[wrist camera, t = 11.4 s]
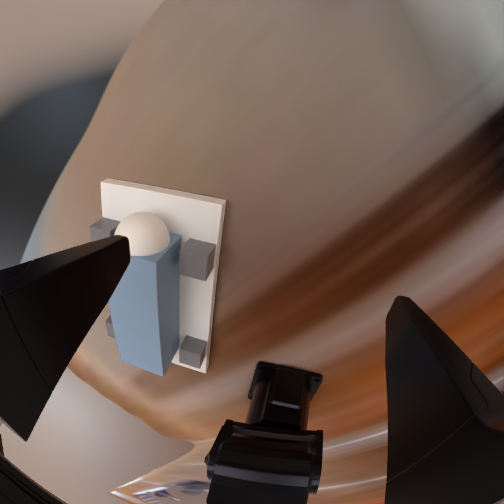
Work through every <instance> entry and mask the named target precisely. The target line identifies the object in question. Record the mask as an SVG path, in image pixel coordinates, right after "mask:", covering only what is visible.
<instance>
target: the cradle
mask: <svg viewBox="0 0 504 504" xmlns="http://www.w3.org/2000/svg"><path fill="white" fill-rule="evenodd" d="M101 200H102V217H103V218H102V219H100V220H99V221H97V222H96V223H94V224H93V225H91V226H90V230H91V239H92V242H93V241H96V240H100V239H103V238H107V237H110V236H114V234H115V231H116V228H117V226H118V225H119V223H120V222H121V221H122V220H123V219H124V218H125V217H126V216H128V215H130V214H132V213H135V212H149V213H152V214H154V215H156V216H158V217H159V218H160V219H161V220H162V221H163V222H164V223H165V225H166V227H167V229H168V232H170V233H174V234H178V235H182V236H181V249H180V255H179V274H180V299H179V343H180V347H179V348H178V350H177V352H176V354H175V356H174V358H173V360H172V363H175V364H178V365H181V366H184V367H187V368H190V369H193V370H196V371H199V372H203V373H206V371H207V369H208V366H209V355H210V344H211V333H212V322H213V312H214V302H215V293H216V283H217V274H218V265H219V256H220V248H221V239H222V231H223V223H224V214H225V207H226V200H223V199H218V198H213V197H208V196H203V195H198V194H193V193H188V192H183V191H178V190H172V189H167V188H162V187H156V186H151V185H145V184H139V183H133V182H128V181H122V180H115V179H109V178H108V179H106V180H104V181H102V182H101ZM105 322H106V327H107V331H108V335H109V336H111V337H113V338H115V334H114V329H113V324H112V319H111V315H110V316H109V318H108V319H107V320H106V321H105ZM115 339H116V338H115Z"/></svg>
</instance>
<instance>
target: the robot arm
mask: <svg viewBox="0 0 504 504" xmlns="http://www.w3.org/2000/svg"><path fill="white" fill-rule="evenodd" d="M130 259H131V256H130V246H129V239H128V238H127V237H126V236H122V235H114V236H110V237H107V238H103V239H100V240H96V241H93V242H89V243H86V244H83V245H79V246H76V247H73V248H69V249H66V250H63V251H59V252H56V253H53V254H50V255H47V256H44V257H40V258H37V259H34V260H33V261H32V260H31V261H28V262H25V263H22V264H19V265H16V266H13V267H9V268H6V269H3V270H0V426H1V424H2V423H3V424H5V425H6V426H7V427H8V428H9V429H10V430H12V431H13V432H14V433H16V434H17V435H18V436H19V437H20V438H22V439H23V440H24V441H25V442H26V441H27V440H28V438H29V436H30V434H31V432H32V430H33V428H34V426H35V424H36V422H37V420H38V418H39V416H40V414H41V412H42V411H43V408H44V407H45V405H46V403H47V401H48V399H49V397H50V395H51V394H52V391H53V390H54V388H55V386H56V385H57V383H58V381H59V379H60V378H61V376H62V374H63V372H64V370H65V369H66V367H67V366H68V364H69V362H70V360H71V359H72V357H73V355H74V354H75V352H76V351H77V349H78V347H79V346H80V344H81V342H82V341H83V339H84V338H85V336H86V335H87V333H88V331H89V330H90V328H91V327H92V325H93V324H94V322H95V321H96V319H97V317H98V316H99V314H100V313H101V311H102V310H103V308H104V307H105V305H106V304H107V303H108V301H109V299H110V298H111V296H112V294H113V293H114V291H115V289H116V287H117V285H118V284H119V282H120V280H121V278H122V276H123V275H124V273H125V271H126V269H127V267H128V266H129V264H130ZM385 367H386V383H387V405H388V461H387V483H386V494H385V504H504V395H503V394H502V393H501V392H500V391H499V390H498V389H497V388H496V386H495V385H494V384H493V383H492V382H491V381H490V380H489V379H488V378H487V377H486V376H485V375H484V374H483V373H482V372H481V371H480V370H479V369H478V367H477V366H476V365H475V364H474V363H472V361H471V360H470V359H469V358H468V357H467V355H466V354H465V353H464V352H463V351H462V350H461V349H460V348H459V347H458V346H457V345H456V344H455V343H454V342H453V341H452V340H451V339H450V338H449V337H448V336H447V334H446V333H445V332H444V331H443V330H442V329H441V328H440V327H439V326H438V325H437V324H436V323H435V322H434V321H433V320H432V319H431V318H430V317H429V316H428V315H427V314H426V313H425V312H424V311H423V310H422V309H421V308H420V307H418V306H417V305H416V304H415V303H414V302H413V301H412V300H411V299H410V298H409V297H405V296H397V297H396V298H395V300H394V302H393V304H392V306H391V308H390V310H389V312H388V315H387V318H386V347H385ZM321 382H322V376H321V375H319V374H315V373H310V372H305V371H300V370H295V369H291V368H286V367H282V366H277V365H273V364H269V363H264V362H259V363H257V366H256V370H255V373H254V377H253V380H252V384H251V387H250V391H249V394H248V398H249V399H251V403H250V407H249V411H248V415H247V418H246V422H245V423H241V422H235V421H233V420H229V419H227V420H226V422H225V424H224V426H222V428H221V430H220V432H219V434H218V436H217V438H216V440H215V442H214V444H213V446H212V448H211V450H210V452H209V453H208V454H207V456H206V457H205V463H206V465H207V477H208V479H209V480H211V484H210V489H209V494H208V497H207V500H206V501H207V504H307V499H308V494H314V495H315V494H316V492H317V490H318V486H319V481H320V476H321V469H322V452H323V430H317V431H310V430H307V423H308V414H309V405H310V401H311V399H312V398H313V396H314V394H315V393H316V391H317V389H318V387H319V386H320V384H321ZM0 504H67V503H65V502H64V501H62V500H61V499H59V498H58V497H56V496H55V495H53V494H52V493H50V492H49V491H47V490H46V489H44V488H43V487H42V486H40V485H39V484H37V483H36V482H35V481H34V480H32V479H31V478H30V477H28V476H27V475H26V474H25V473H23V472H22V471H21V470H20V469H18V468H17V467H16V466H15V465H14V464H12V463H11V462H10V461H9V460H8V459H7V458H5V457H4V452H3V446H2V439H1V434H0Z"/></svg>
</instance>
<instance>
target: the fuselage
mask: <svg viewBox="0 0 504 504" xmlns="http://www.w3.org/2000/svg"><path fill="white" fill-rule="evenodd" d="M114 235H122V236H126V237H127V238H128V239H129V246H130V256H131V259H130V264H129V266H128V267H127V269H126V271H125V273H124V275H123V276H122V278H121V280H120V282H119V284H118V285H117V287H116V289H115V291H114V293H113V294H112V296H111V298H110V299H109V301H108V303H109V309H110V314H111V319H112V324H113V329H114V334H115V338H116V343H117V347H118V351H119V356H120V360H122V361H124V362H126V363H129V364H131V365H134V366H136V367H139V368H141V369H144V370H146V371H149V372H151V373H154V374H157V375H159V376H162V377H164V375H165V373H166V371H167V369H168V367H169V365H170V363H171V362H172V360H173V358H174V356H175V354H176V352H177V350H178V348H179V347H180V343H179V299H180V274H179V255H180V249H181V236H182V235H178V234H174V233H170V232H168V229H167V227H166V225H165V223H164V222H163V221H162V220H161V219H160V218H159V217H158V216H156V215H154V214H152V213H149V212H135V213H132V214H130V215H128V216H126V217H125V218H124V219H123V220H122V221H121V222H120V223H119V225H118V226H117V228H116V231H115V234H114Z"/></svg>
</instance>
